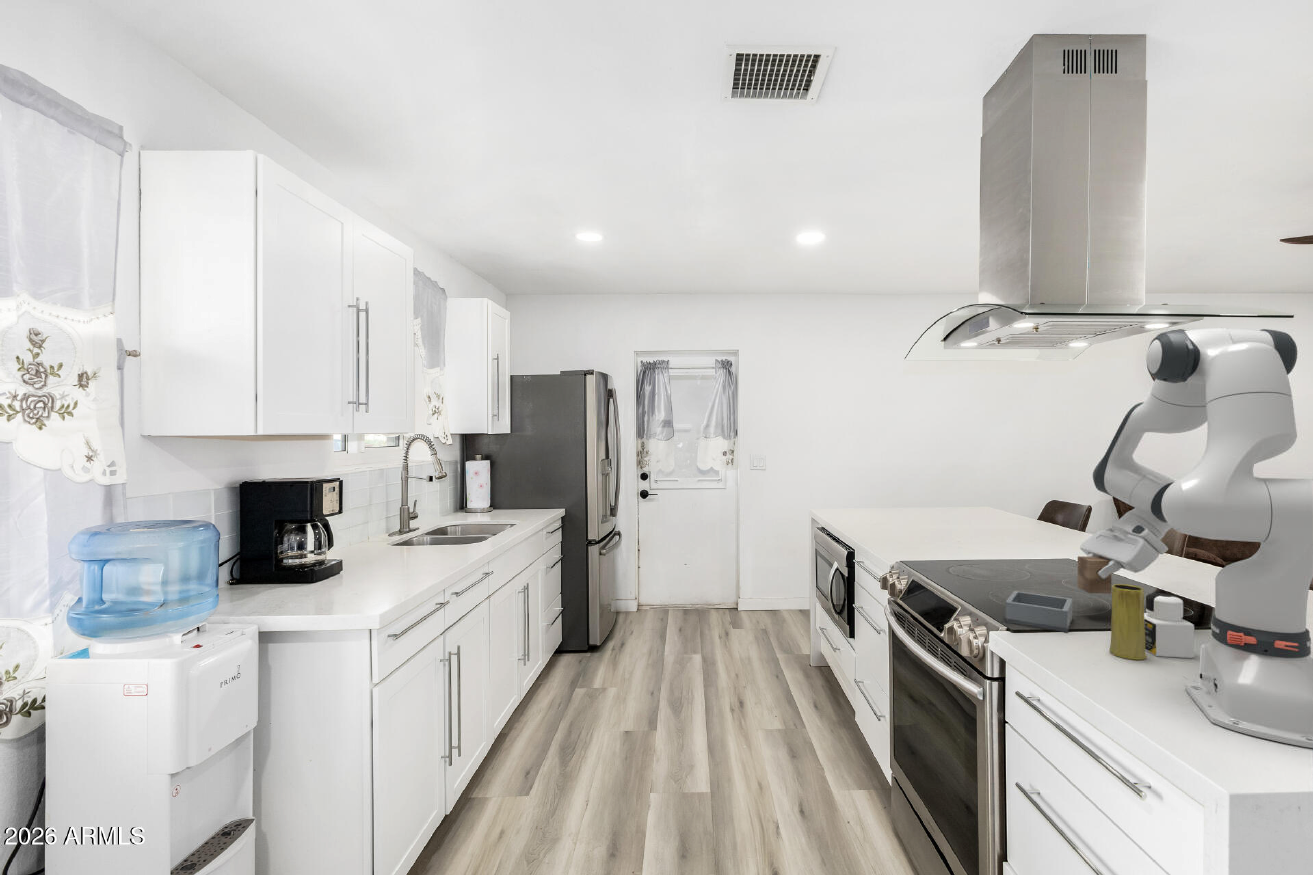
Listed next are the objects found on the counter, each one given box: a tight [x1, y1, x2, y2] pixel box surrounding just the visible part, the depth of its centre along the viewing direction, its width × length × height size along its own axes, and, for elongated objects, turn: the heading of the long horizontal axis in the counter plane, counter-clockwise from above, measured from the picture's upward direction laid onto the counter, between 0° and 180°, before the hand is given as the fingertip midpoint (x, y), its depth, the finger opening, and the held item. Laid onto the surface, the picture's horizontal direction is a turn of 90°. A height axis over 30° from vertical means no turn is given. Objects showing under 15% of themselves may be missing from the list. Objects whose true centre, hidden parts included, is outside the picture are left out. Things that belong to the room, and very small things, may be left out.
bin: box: [1005, 590, 1074, 633], centre depth 149 cm, size 13×13×5 cm
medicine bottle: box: [1144, 592, 1195, 659], centre depth 128 cm, size 7×7×12 cm
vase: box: [1109, 583, 1147, 661], centre depth 126 cm, size 6×6×14 cm
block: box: [1077, 555, 1112, 595], centre depth 150 cm, size 5×5×8 cm
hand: (1091, 572), depth 150 cm, fingers closed on block, 5 cm apart
